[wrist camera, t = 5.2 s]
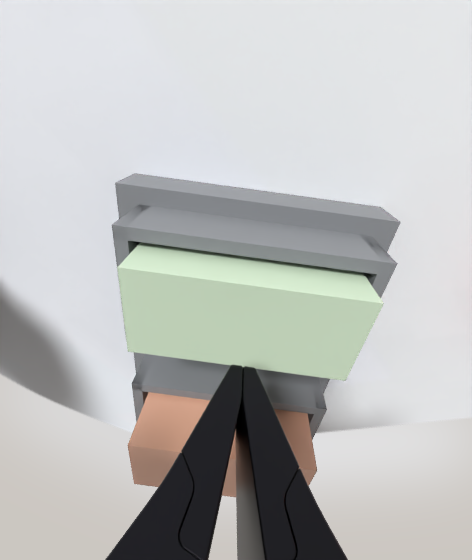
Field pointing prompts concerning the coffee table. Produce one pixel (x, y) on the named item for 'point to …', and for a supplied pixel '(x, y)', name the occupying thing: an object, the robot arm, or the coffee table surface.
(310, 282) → the sage button
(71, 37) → the coffee table surface
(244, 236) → the button panel
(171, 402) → the orange brown block
